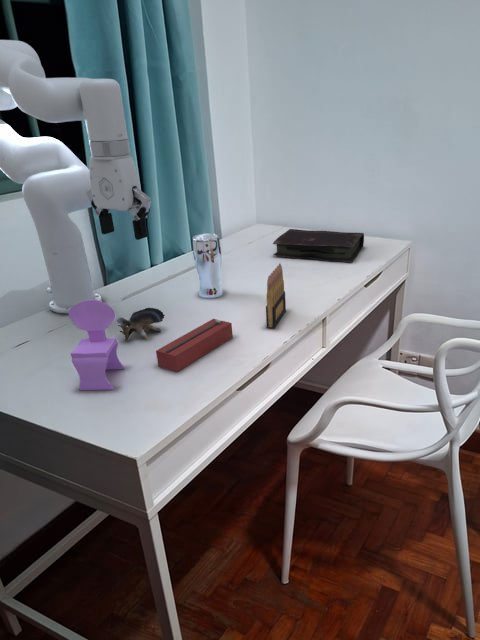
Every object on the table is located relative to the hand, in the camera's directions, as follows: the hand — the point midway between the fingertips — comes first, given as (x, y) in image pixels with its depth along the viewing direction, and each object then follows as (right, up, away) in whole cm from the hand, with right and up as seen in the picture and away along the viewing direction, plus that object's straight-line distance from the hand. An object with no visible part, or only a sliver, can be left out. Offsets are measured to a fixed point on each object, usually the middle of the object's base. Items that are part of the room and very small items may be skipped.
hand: (124, 235), depth 116 cm
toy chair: (0, -31, -14) cm, 34 cm away
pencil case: (+16, -25, -4) cm, 30 cm away
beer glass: (+15, -9, +25) cm, 30 cm away
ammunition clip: (+33, -17, +9) cm, 38 cm away
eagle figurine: (+3, -22, +3) cm, 22 cm away
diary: (+45, +10, +55) cm, 72 cm away
